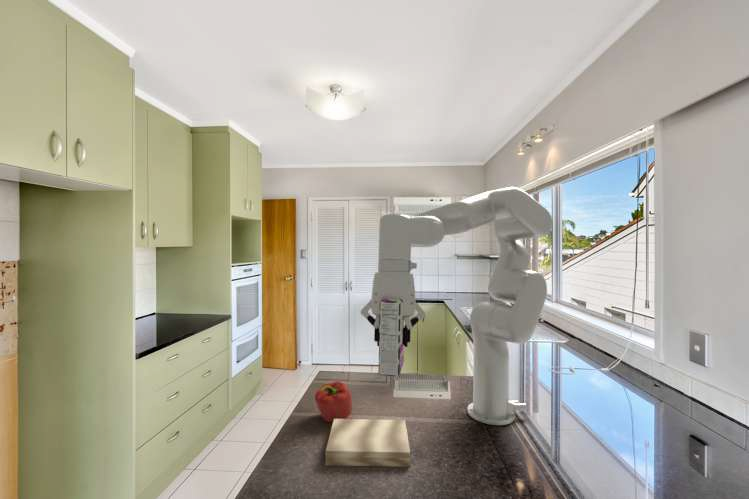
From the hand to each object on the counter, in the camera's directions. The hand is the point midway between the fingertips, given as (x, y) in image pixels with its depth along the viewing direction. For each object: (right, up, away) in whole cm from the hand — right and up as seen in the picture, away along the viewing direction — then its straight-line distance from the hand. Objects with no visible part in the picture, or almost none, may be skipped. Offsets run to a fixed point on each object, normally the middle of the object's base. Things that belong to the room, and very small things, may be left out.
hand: (391, 344), depth 79 cm
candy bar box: (0, -6, 0) cm, 6 cm away
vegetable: (-15, -24, +13) cm, 32 cm away
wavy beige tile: (-5, -24, 0) cm, 25 cm away
